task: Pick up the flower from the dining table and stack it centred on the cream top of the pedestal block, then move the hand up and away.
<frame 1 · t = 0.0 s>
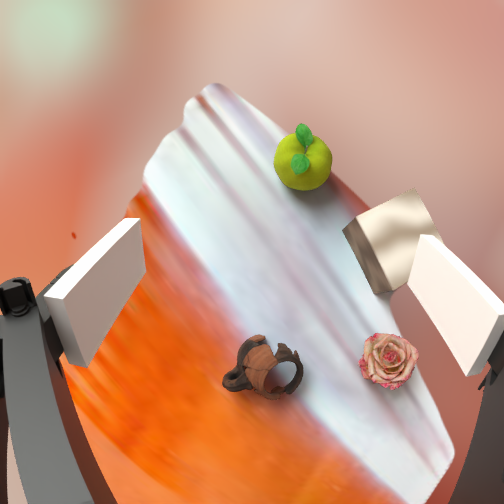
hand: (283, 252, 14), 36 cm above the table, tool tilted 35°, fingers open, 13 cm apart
flower: (377, 356, 47), on the table
fruit: (298, 175, 53), on the table
pedestal: (385, 246, 50), on the table
pottery mug: (260, 365, 47), on the table
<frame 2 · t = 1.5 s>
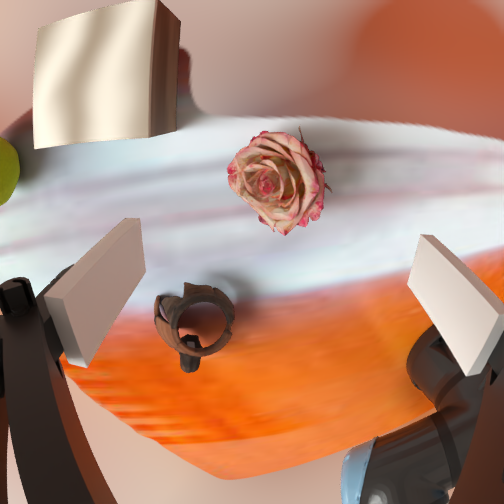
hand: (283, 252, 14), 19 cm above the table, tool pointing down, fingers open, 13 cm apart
flower: (273, 172, 31), on the table
fruit: (12, 163, 30), on the table
pedestal: (123, 79, 26), on the table
pottery mug: (195, 311, 38), on the table
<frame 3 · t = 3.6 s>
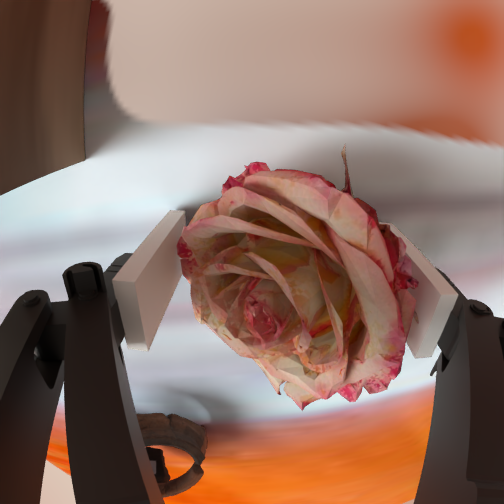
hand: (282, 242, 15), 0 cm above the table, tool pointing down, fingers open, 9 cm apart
flower: (279, 240, 15), on the table, touching gripper
pedestal: (7, 72, 11), on the table
pottery mug: (153, 422, 23), on the table
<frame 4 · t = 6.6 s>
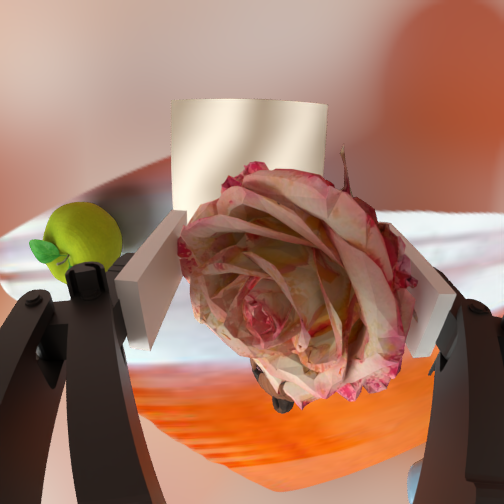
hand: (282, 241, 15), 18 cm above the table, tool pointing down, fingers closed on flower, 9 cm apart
flower: (278, 239, 15), point 18 cm above the table, touching gripper
fruit: (102, 227, 35), on the table
pedestal: (250, 160, 31), on the table
pottery mug: (285, 360, 42), on the table
when the fingers open (10 cm above the table, at t = 8.8 s): flower drops 2 cm, resting on pedestal.
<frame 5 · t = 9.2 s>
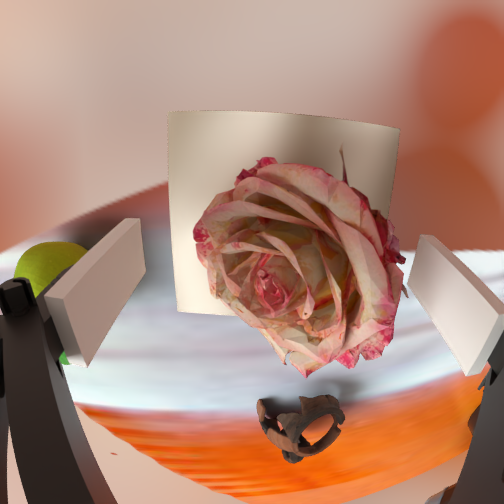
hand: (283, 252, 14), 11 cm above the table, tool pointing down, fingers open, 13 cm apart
flower: (283, 228, 17), point 8 cm above the table, touching pedestal
fruit: (85, 266, 28), on the table
pedestal: (275, 190, 24), on the table
pottery mug: (295, 407, 36), on the table
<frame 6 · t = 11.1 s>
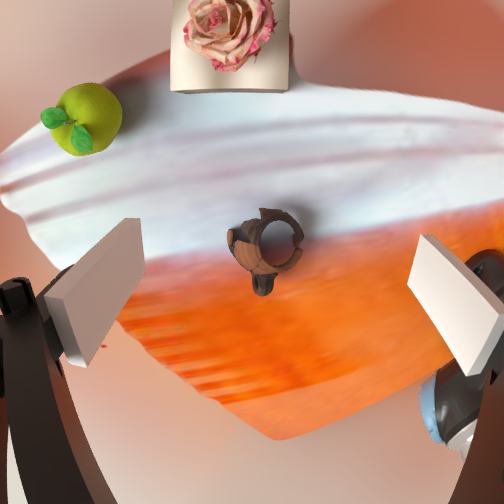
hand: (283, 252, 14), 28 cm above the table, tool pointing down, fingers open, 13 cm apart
flower: (231, 35, 26), point 8 cm above the table, touching pedestal
fruit: (104, 116, 36), on the table
pedestal: (234, 48, 32), on the table
pottery mug: (262, 241, 44), on the table
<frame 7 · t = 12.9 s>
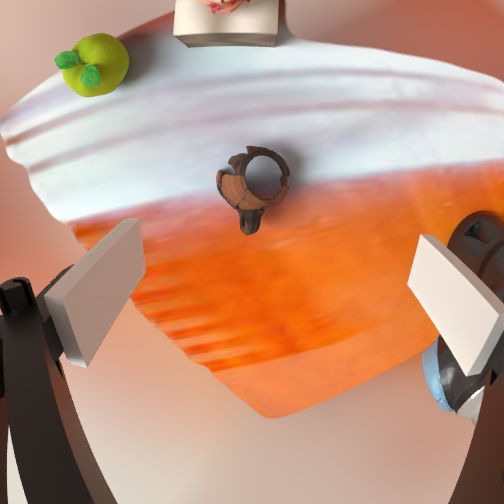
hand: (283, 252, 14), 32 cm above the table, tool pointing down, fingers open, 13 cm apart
fruit: (112, 68, 37), on the table
pedestal: (233, 9, 33), on the table
pottery mug: (251, 184, 45), on the table
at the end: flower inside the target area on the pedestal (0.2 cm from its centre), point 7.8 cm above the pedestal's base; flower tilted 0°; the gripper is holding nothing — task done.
